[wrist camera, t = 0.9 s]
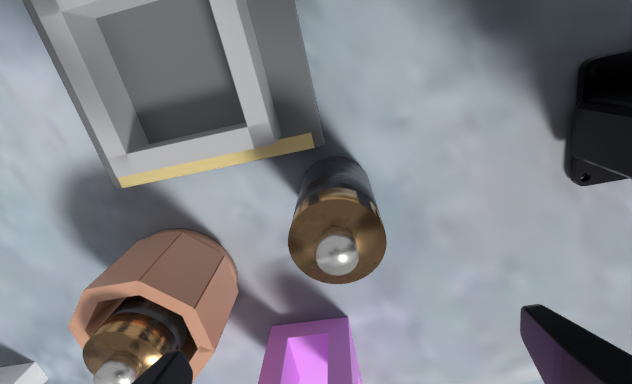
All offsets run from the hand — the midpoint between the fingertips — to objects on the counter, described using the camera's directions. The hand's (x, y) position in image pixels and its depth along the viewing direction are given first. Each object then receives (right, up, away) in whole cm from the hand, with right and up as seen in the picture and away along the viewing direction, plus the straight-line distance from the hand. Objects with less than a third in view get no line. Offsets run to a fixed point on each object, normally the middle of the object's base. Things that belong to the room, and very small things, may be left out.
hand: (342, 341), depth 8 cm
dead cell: (-9, -2, +12) cm, 16 cm away
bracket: (0, -11, +17) cm, 20 cm away
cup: (-9, -2, +13) cm, 16 cm away
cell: (0, +4, +10) cm, 11 cm away
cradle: (-7, +10, +8) cm, 15 cm away
